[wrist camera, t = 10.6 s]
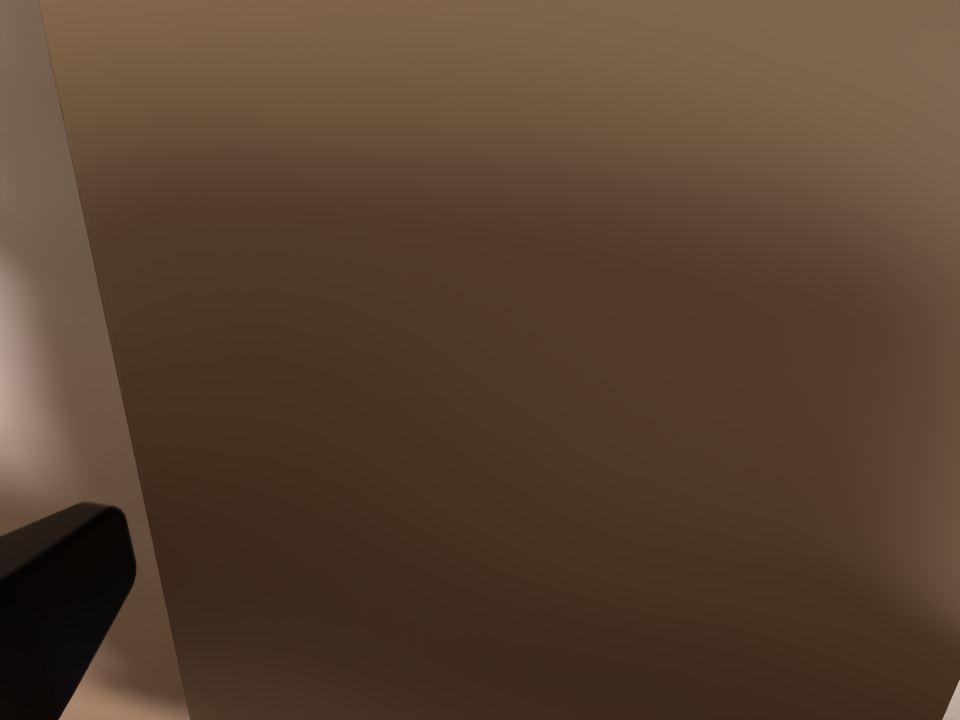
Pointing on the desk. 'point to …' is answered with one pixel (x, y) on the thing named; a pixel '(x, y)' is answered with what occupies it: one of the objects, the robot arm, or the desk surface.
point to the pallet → (535, 348)
